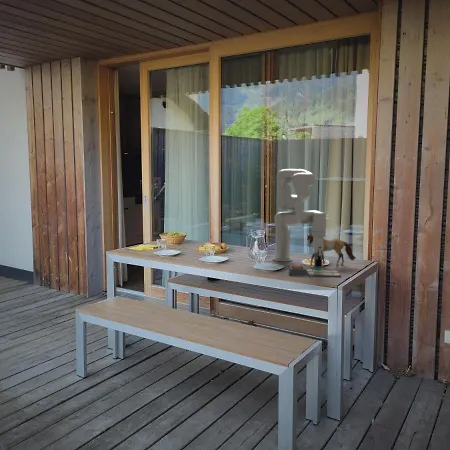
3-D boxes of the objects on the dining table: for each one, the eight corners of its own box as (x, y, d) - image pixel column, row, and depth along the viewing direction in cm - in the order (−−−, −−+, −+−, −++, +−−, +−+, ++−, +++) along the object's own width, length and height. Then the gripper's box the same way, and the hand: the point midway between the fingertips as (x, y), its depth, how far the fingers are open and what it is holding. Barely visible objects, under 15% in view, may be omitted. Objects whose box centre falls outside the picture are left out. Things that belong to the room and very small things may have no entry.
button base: (289, 271, 273) (289, 265, 273) (304, 271, 273) (304, 266, 272) (290, 275, 264) (290, 269, 264) (306, 275, 264) (306, 269, 263)
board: (305, 270, 276) (305, 268, 276) (336, 270, 275) (336, 269, 275) (308, 276, 261) (308, 275, 261) (341, 277, 260) (341, 275, 260)
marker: (313, 268, 270) (313, 248, 269) (321, 268, 270) (321, 248, 269) (314, 270, 266) (314, 249, 264) (322, 270, 266) (323, 249, 264)
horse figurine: (306, 268, 282) (307, 234, 279) (303, 265, 289) (303, 232, 287) (356, 267, 285) (357, 234, 282) (351, 264, 292) (352, 232, 290)
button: (292, 268, 271) (293, 264, 271) (301, 268, 271) (301, 264, 270) (293, 270, 266) (293, 265, 266) (302, 270, 266) (302, 266, 265)
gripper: (310, 231, 274) (309, 262, 276) (314, 235, 257) (313, 268, 260) (323, 231, 274) (322, 262, 276) (327, 235, 257) (327, 268, 259)
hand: (318, 264), depth 268 cm, fingers closed on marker, 4 cm apart
